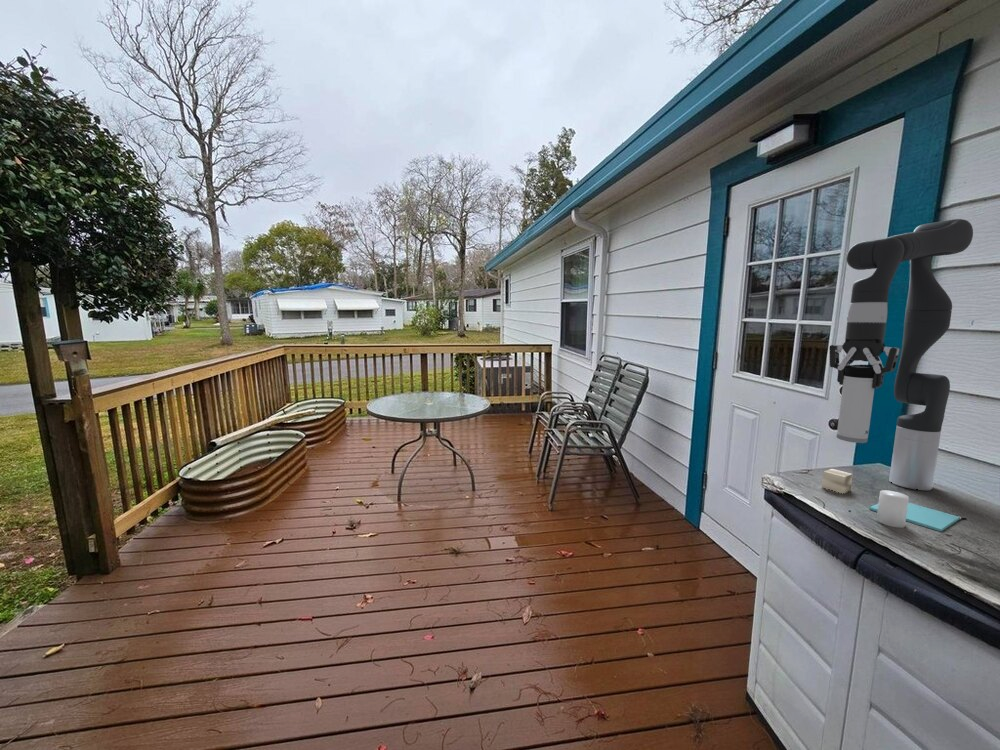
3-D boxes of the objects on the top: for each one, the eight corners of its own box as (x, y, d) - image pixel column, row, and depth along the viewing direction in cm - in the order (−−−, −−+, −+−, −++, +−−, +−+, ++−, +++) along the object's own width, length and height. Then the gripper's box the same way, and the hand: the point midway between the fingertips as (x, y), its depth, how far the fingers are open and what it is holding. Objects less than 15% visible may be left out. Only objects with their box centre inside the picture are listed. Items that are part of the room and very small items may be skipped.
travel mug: (874, 444, 106) (885, 365, 103) (845, 442, 107) (854, 364, 105) (859, 437, 112) (868, 363, 110) (831, 435, 113) (840, 362, 111)
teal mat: (890, 499, 113) (890, 497, 113) (959, 519, 102) (959, 517, 102) (869, 509, 107) (869, 507, 107) (941, 531, 96) (941, 529, 96)
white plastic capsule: (881, 516, 103) (884, 488, 102) (908, 524, 99) (912, 496, 98) (872, 520, 101) (876, 492, 100) (900, 529, 96) (904, 500, 96)
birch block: (830, 485, 123) (832, 468, 123) (850, 491, 119) (852, 474, 119) (821, 488, 121) (823, 471, 120) (842, 494, 117) (844, 477, 116)
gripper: (910, 321, 102) (901, 389, 104) (839, 321, 114) (832, 382, 116) (897, 321, 98) (888, 391, 100) (826, 320, 110) (819, 383, 112)
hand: (858, 386), depth 108 cm, fingers closed on travel mug, 6 cm apart
